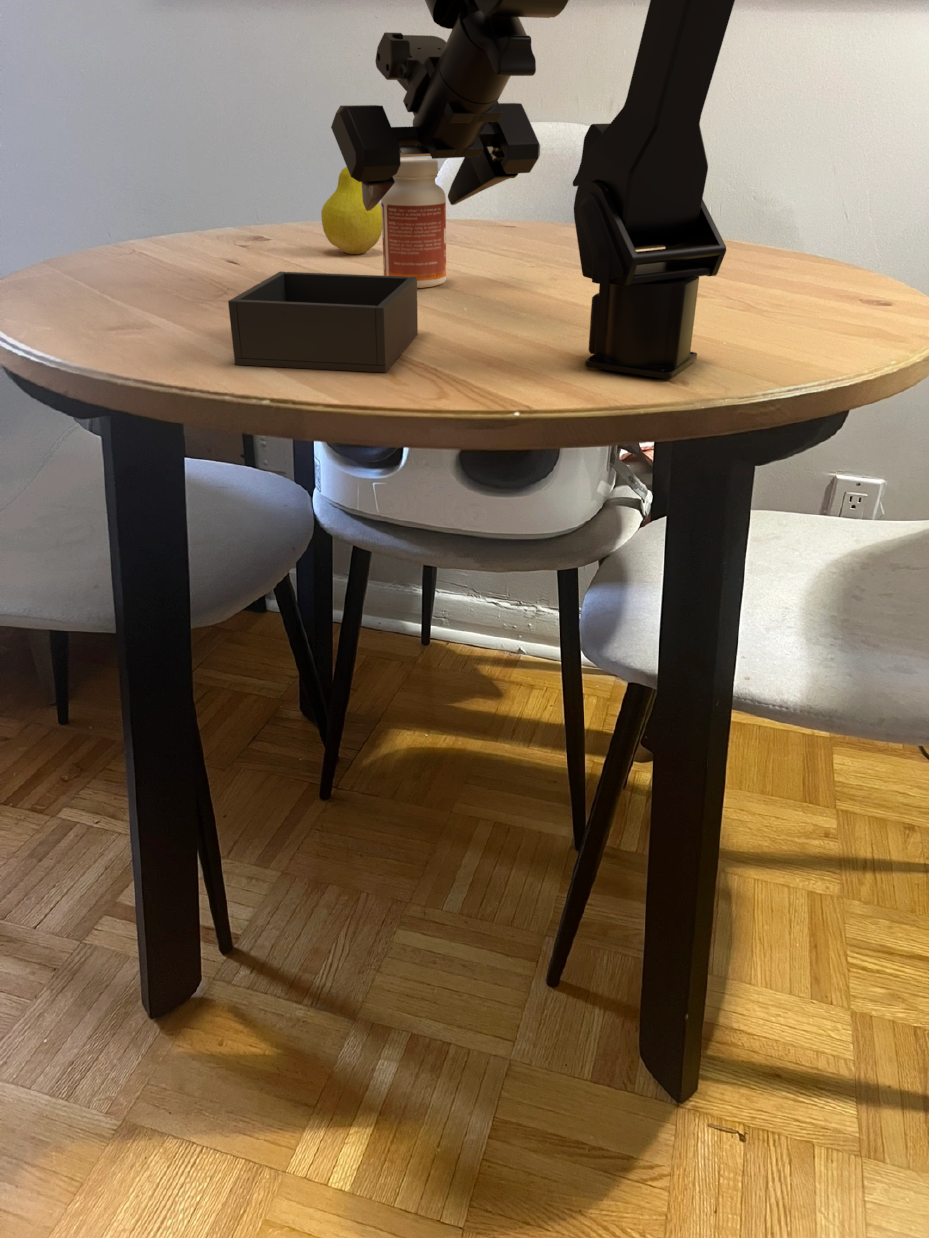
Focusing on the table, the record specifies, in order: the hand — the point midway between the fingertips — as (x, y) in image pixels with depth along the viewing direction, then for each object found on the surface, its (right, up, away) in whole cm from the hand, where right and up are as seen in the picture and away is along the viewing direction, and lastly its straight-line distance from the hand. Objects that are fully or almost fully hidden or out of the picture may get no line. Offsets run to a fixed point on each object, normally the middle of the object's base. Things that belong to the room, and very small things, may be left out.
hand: (409, 203), depth 95 cm
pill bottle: (0, -7, +3) cm, 7 cm away
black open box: (-5, -19, -19) cm, 28 cm away
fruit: (-7, +2, +18) cm, 19 cm away
